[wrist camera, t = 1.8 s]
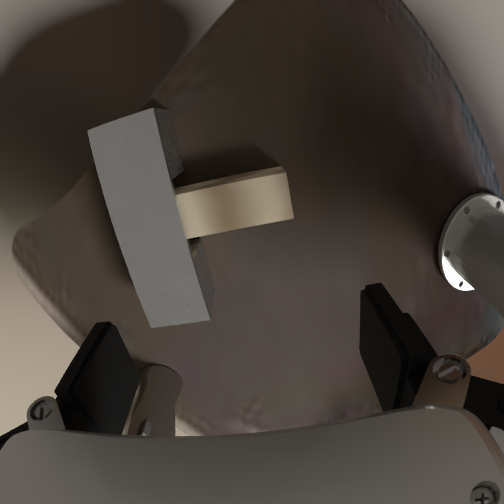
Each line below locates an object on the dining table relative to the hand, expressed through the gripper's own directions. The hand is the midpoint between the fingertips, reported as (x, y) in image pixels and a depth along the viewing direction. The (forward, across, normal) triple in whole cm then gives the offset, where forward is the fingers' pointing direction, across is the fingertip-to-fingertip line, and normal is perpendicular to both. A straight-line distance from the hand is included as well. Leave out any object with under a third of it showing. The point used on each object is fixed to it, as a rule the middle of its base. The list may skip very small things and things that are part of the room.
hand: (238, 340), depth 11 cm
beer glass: (+21, +16, +22) cm, 34 cm away
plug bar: (+21, +3, -1) cm, 21 cm away
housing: (+21, +8, 0) cm, 22 cm away
